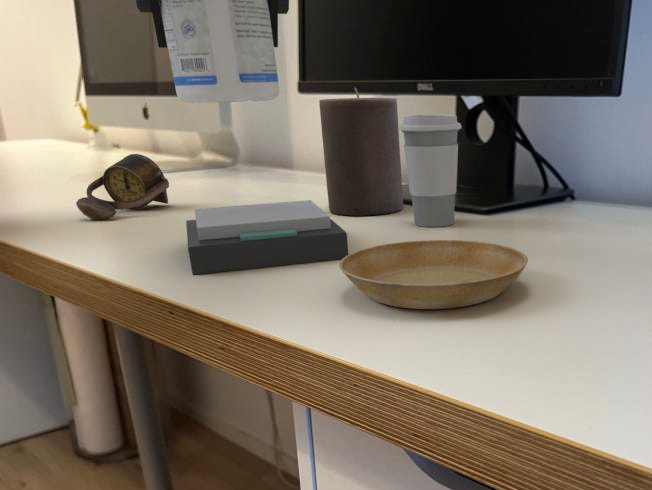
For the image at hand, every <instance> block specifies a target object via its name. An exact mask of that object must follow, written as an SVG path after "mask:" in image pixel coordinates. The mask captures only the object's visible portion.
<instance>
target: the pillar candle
mask: <svg viewBox="0 0 652 490" xmlns="http://www.w3.org/2000/svg"><path fill="white" fill-rule="evenodd" d="M357 89H358V88H356V87H354V91H355V94H356V97H348V98H347V97H345V98H344V97H343V98H325V99H324V98H323V99H319V100H318V102H319V103H318V104H319V114H320V125H321V138H322V147H323V148H322V150H323V161H324V169H325V170H324V171H325V179H326V190H327V199H328V210H329V213H332V214H334V215H342V216H343V215H346V216H347V215H348V216H357V217H365V216H375V215H384V214H392V213H396V212H399V211H401V210H403V209H404V197H403V181H402V180H403V178H402V164H401V163H402V162H401V149H400V148H401V147H400V146H401V145H400V132H399V131H400V130H399V114H398V113H399V112H398V98H396V97H360V95H359V92H358V90H357Z"/></svg>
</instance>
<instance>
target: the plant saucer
mask: <svg viewBox="0 0 652 490" xmlns="http://www.w3.org/2000/svg"><path fill="white" fill-rule="evenodd" d="M348 254H349V255H347V256H346V257H344V258H343V259H340V261H339V262H338V263H339V265H338V266H339V269H340V271H342V272H343V274H344V275H345V277H346V278H347V279H348V280H349V281H350V282H351V283H352V284H353V285H355V287H357V288H358V290H360V291H361V292H362V293H364V294H365V295H366V296H367V297H369V298H370V299H372V300H374V301H376V302H378V303H381V304H384V305H388V306H393V307H395V308H401V309H402V308H403V309H410V310H411V309H412V310H446V309H447V310H449V309H455V308H463V307H469V306H474V305H478V304H481V302H482V303H485V302H488V301H489V300H492V299H494V298H496V297H497V296H499V295H500V294H502V293H503V292H504V291H505V290H506V289H507V288H508V287H509V286H511V284H513V283H514V281H515V280H517V278H518V277H519V276H520V275H521V274H522V272H523V271H524V269H525V268H526V266H527V265H528V263H529V258H528V256H527V255H526V254H525V253H524V252H523V251H521V250H518V249H515V248H513V247H510V246H505V245H501V244H498V243H491V242H482V241H476V240H459V239H429V240H427V239H426V240H425V239H424V240H410V241H399V242H392V243H385V244H381V245H379V244H378V245H375V246H370V247H366V248H362V249H359V250H356V251H354V252H352V253H348ZM484 301H485V302H484ZM473 304H474V305H473Z"/></svg>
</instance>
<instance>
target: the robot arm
mask: <svg viewBox="0 0 652 490" xmlns="http://www.w3.org/2000/svg"><path fill="white" fill-rule="evenodd" d="M135 3H136V8H137V9H138V11H139V12H140V13H151V14H152V19H153V25H154V30H155V31H154V32H155V36H156V40H157V47H158V48H160V49H161V48H163V49H165V48H167V49H168V45H167V40H166V34H165V29H164V23H163V18H162V12H161V7H160V2H159V0H135ZM268 6H269V14H270V21H271V29H272V37H273V44H274V48H279V15H287V14H288V12H289V10H290V0H268Z"/></svg>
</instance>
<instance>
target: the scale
mask: <svg viewBox="0 0 652 490" xmlns="http://www.w3.org/2000/svg"><path fill="white" fill-rule="evenodd" d="M194 216H195V219H187V220H186V221H185V225H186V241H187V251H188V257H189V262H190V268H191V273H192V275H193V276H196V275H204V274H216V273H224V272H233V271H243V270H244V271H245V270H253V269H263V268H272V267H280V266H291V265H299V264H300V265H301V264H308V263H318V262H328V261H338V260H342V259H343V258H344V257H346V256H347V255H349V254H350V253H349V244H348V243H349V242H348V232H346V231H345V230H344V229H343V228H342V227H341V226H339V224H338V223H336V222H335V221H334V220H333V219H332V218H331V217H330V215H329V214H328V213H326V212H325V211H324V210H323V209H322V208H321V207H319V205H317V204H316V203H315V202H313V201H312V199H307V200H294V201H281V202H280V201H279V202H269V203H267V202H266V203H255V204H241V205H228V206H214V207H203V208H201V207H200V208H194Z"/></svg>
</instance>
